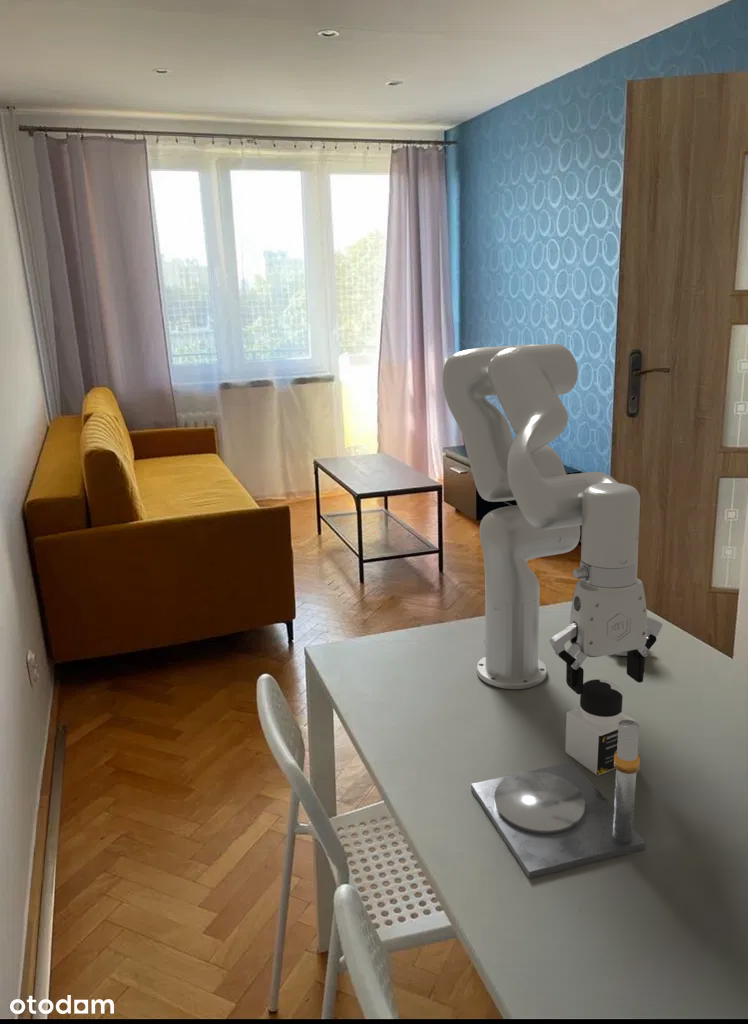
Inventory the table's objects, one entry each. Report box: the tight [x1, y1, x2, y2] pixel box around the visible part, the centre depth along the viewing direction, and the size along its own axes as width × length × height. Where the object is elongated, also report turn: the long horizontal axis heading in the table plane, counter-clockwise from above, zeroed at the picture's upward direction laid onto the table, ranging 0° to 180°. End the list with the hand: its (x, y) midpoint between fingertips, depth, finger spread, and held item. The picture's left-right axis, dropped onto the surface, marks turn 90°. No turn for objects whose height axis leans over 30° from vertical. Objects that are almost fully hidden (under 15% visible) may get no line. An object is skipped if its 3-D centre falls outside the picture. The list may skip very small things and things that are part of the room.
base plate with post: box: [470, 720, 646, 879], centre depth 102 cm, size 18×16×17 cm
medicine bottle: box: [564, 678, 636, 777], centre depth 115 cm, size 7×7×12 cm
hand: (605, 684), depth 112 cm, fingers open, 9 cm apart
